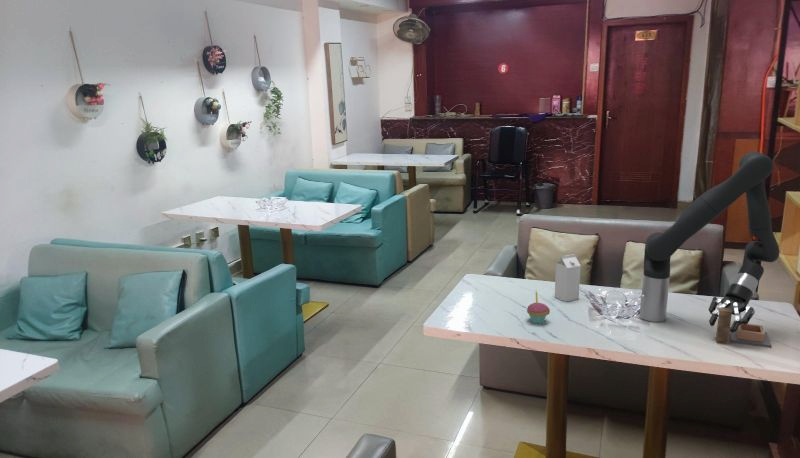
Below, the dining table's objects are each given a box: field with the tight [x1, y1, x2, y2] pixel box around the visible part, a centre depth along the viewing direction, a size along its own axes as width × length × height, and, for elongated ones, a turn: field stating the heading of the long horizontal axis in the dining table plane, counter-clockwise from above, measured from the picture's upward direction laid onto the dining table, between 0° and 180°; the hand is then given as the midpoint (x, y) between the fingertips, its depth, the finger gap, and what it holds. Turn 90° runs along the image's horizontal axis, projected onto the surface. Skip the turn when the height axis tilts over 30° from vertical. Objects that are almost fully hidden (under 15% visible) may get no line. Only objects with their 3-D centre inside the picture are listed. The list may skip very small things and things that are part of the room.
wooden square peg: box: [715, 307, 732, 345], centre depth 209 cm, size 4×4×12 cm
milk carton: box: [554, 253, 582, 303], centre depth 251 cm, size 7×7×19 cm
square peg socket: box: [729, 323, 772, 348], centre depth 212 cm, size 12×12×4 cm
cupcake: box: [526, 290, 551, 324], centre depth 229 cm, size 9×8×12 cm
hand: (721, 328), depth 208 cm, fingers open, 6 cm apart
